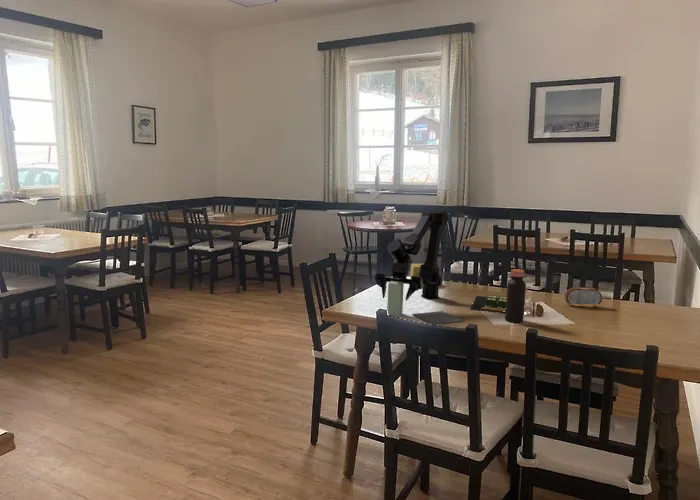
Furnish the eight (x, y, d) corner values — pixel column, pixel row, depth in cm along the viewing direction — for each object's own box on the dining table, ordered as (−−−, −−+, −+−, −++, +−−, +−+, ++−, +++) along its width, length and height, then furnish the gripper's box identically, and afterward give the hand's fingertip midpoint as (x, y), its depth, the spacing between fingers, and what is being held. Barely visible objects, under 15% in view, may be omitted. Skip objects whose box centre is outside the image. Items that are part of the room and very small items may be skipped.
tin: (599, 306, 233) (601, 287, 232) (602, 308, 230) (603, 289, 229) (563, 304, 234) (565, 286, 233) (565, 306, 231) (567, 287, 230)
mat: (442, 311, 218) (442, 310, 218) (462, 321, 205) (462, 320, 205) (412, 314, 212) (412, 313, 212) (431, 324, 200) (431, 323, 200)
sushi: (470, 311, 222) (470, 302, 222) (476, 297, 246) (477, 289, 245) (533, 318, 214) (534, 309, 214) (533, 303, 238) (534, 295, 237)
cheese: (433, 287, 263) (434, 267, 261) (411, 286, 263) (412, 266, 261) (430, 282, 273) (431, 263, 271) (409, 281, 273) (410, 262, 271)
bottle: (524, 323, 204) (528, 272, 201) (505, 322, 205) (509, 271, 202) (522, 319, 210) (525, 269, 207) (504, 317, 212) (507, 268, 209)
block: (390, 312, 215) (391, 280, 213) (402, 313, 213) (403, 282, 211) (387, 315, 210) (388, 283, 208) (399, 317, 209) (400, 284, 207)
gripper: (376, 252, 215) (368, 285, 206) (422, 256, 209) (416, 289, 201) (381, 268, 223) (373, 300, 215) (425, 272, 218) (418, 305, 209)
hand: (394, 298), depth 210 cm, fingers open, 9 cm apart
